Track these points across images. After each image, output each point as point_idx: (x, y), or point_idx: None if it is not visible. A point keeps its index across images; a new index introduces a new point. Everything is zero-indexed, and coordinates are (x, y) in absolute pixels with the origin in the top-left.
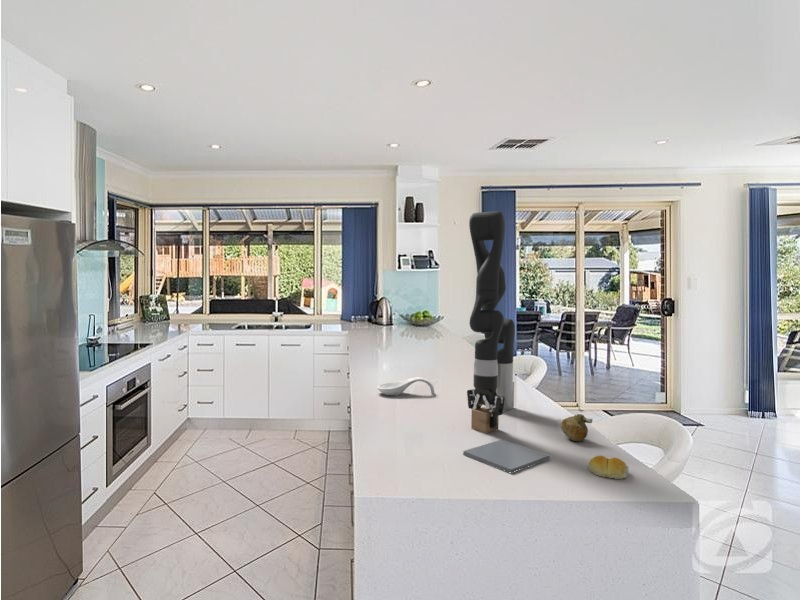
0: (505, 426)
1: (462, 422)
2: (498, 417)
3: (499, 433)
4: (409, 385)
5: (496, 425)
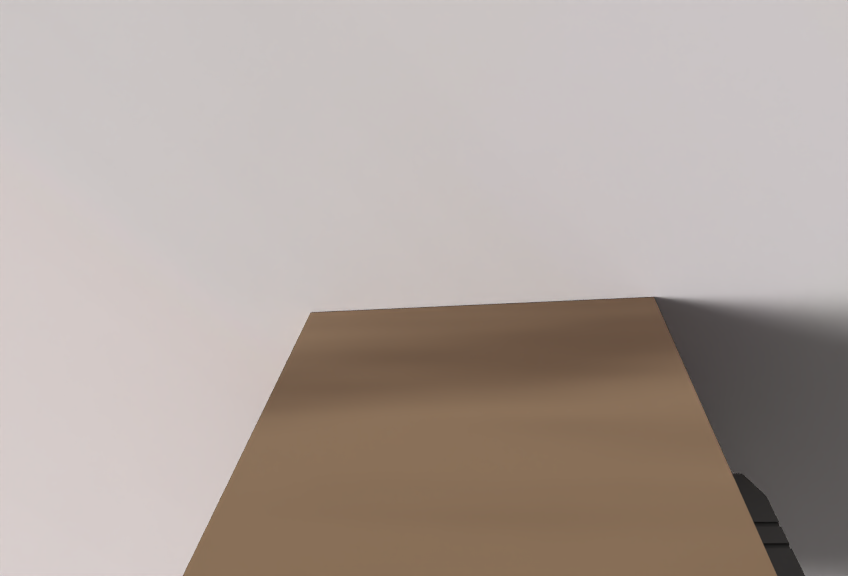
0: (608, 19)
1: (57, 472)
2: (720, 450)
3: (803, 423)
4: None
5: (757, 492)
